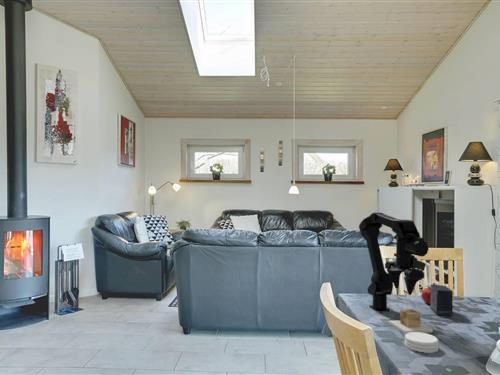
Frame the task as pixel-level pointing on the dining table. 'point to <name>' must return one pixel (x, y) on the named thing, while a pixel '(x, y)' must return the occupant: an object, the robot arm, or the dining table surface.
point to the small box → (441, 300)
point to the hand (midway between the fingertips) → (403, 291)
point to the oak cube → (410, 318)
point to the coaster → (421, 342)
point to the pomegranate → (427, 294)
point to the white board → (413, 329)
